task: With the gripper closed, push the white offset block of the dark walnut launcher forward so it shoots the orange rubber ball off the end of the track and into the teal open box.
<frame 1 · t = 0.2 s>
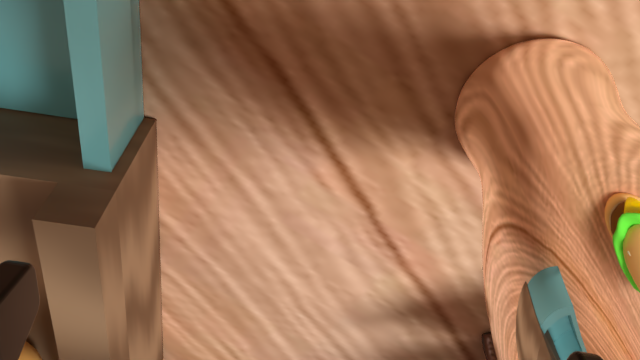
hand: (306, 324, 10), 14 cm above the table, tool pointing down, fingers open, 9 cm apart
teal open box: (19, 7, 22), on the table
launcher deck: (59, 243, 29), on the table
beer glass: (530, 107, 23), on the table
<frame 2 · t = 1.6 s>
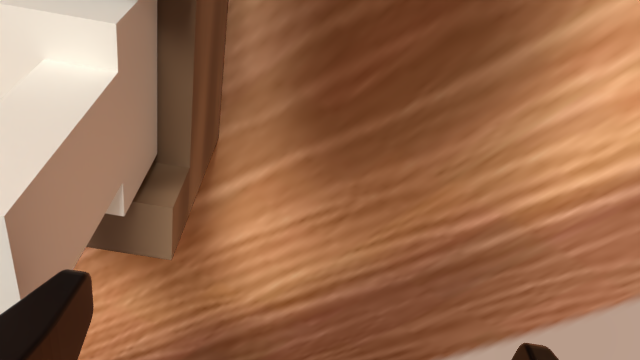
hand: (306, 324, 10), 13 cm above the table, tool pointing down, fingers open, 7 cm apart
white offset block: (36, 142, 13), point 9 cm above the table, slide at 0.0 cm
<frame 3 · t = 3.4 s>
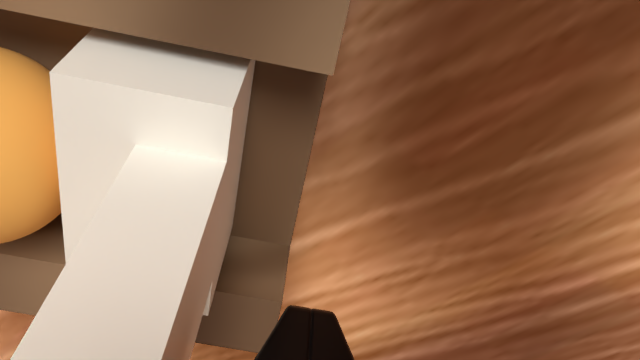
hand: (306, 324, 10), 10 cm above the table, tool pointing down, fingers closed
white offset block: (122, 247, 10), point 9 cm above the table, slide at 0.6 cm, touching ball, gripper
launcher deck: (56, 10, 17), on the table
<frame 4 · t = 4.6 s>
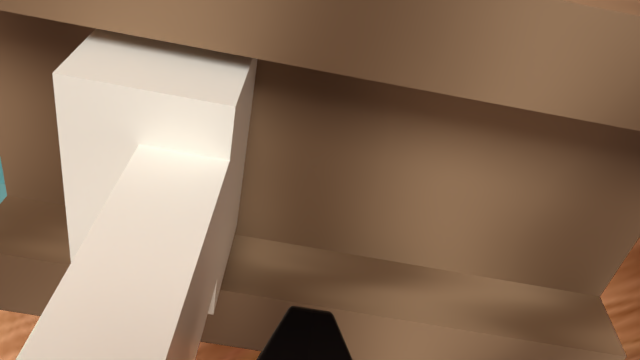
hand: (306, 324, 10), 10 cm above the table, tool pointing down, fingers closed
white offset block: (127, 246, 10), point 9 cm above the table, slide at 9.0 cm, touching gripper
launcher deck: (339, 65, 18), on the table
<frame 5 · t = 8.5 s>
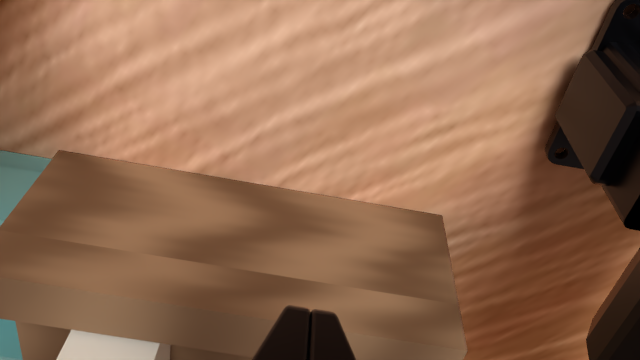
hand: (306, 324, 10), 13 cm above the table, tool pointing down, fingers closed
launcher deck: (242, 269, 27), on the table
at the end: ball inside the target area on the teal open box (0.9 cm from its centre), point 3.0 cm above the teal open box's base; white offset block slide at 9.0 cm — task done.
